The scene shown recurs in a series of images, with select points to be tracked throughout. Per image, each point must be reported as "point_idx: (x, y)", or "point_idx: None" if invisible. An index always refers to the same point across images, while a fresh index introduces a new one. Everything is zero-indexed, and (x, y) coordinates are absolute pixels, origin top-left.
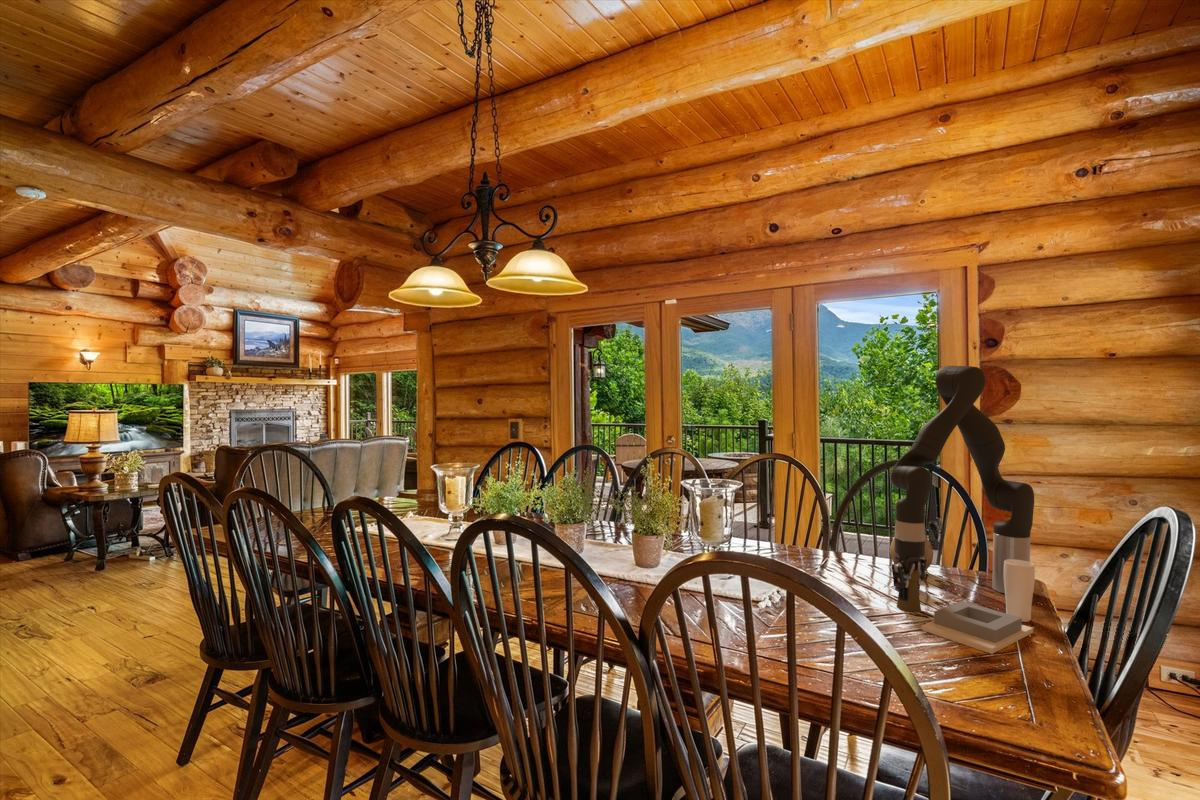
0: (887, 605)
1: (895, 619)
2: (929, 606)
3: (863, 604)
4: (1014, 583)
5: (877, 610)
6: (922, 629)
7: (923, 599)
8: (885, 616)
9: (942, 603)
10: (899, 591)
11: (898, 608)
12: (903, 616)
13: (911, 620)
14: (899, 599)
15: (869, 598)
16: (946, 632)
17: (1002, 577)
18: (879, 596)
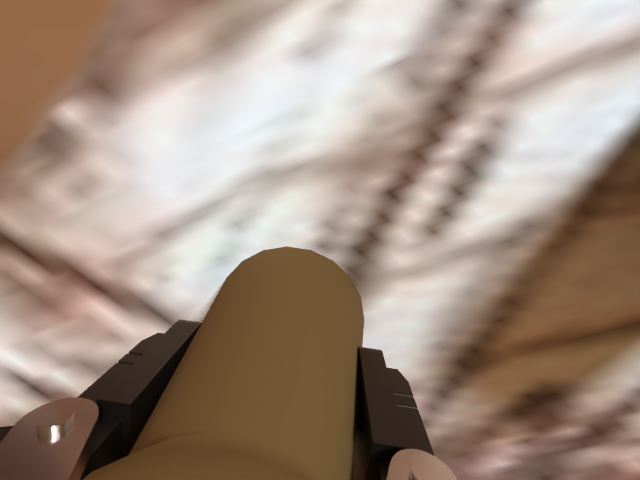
0: (228, 199)
1: (34, 332)
2: (431, 390)
3: (96, 62)
4: None
5: (75, 194)
6: None
7: (558, 322)
8: (24, 274)
9: (555, 425)
10: (106, 375)
11: (227, 277)
12: (122, 345)
13: None
14: (211, 306)
15: (269, 25)
16: None
17: None
18: (385, 62)
